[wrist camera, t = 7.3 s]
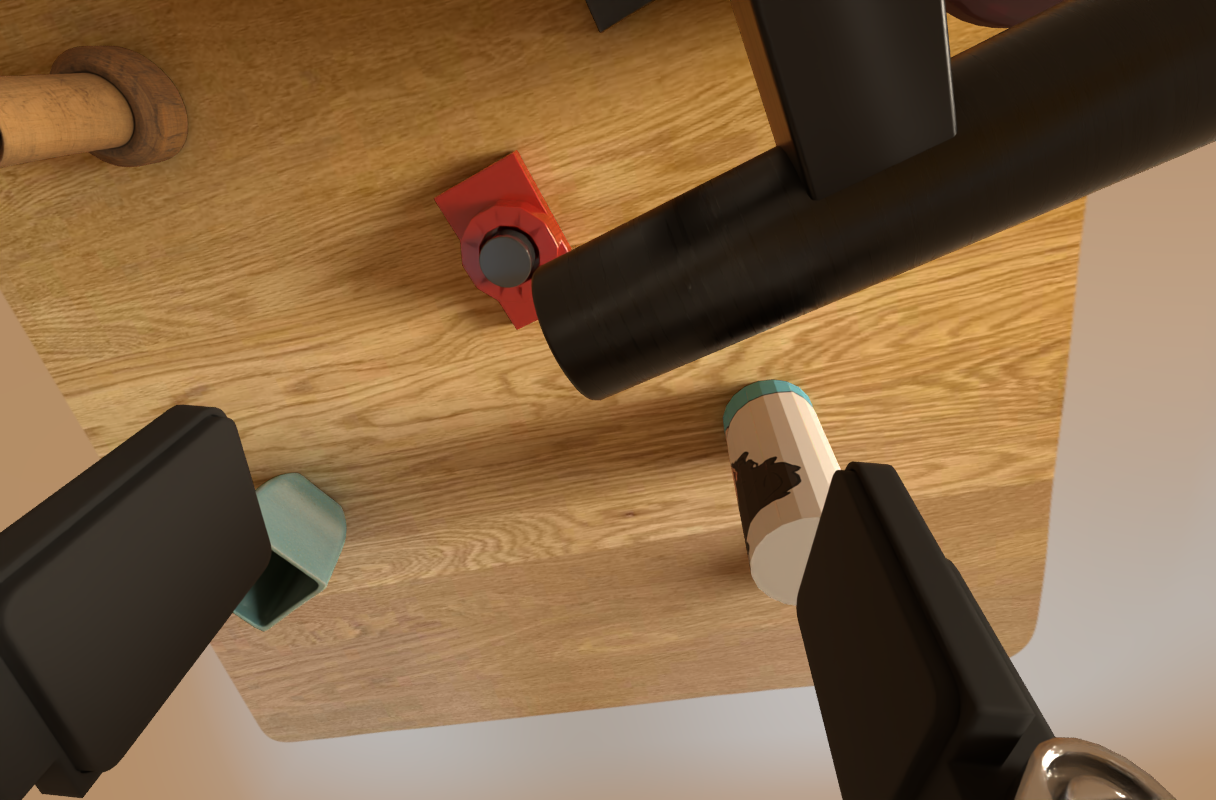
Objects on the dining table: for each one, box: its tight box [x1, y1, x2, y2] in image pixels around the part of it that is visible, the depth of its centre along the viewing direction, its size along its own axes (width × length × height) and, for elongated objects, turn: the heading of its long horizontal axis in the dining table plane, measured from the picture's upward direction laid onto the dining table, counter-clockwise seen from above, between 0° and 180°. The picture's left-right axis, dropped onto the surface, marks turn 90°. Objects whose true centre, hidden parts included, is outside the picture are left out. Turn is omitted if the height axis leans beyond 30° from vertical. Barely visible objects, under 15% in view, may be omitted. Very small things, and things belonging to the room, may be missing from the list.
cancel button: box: [479, 229, 536, 288], centre depth 38 cm, size 3×3×2 cm
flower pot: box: [233, 473, 346, 631], centre depth 50 cm, size 9×9×9 cm
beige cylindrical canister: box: [723, 380, 841, 606], centre depth 40 cm, size 7×7×15 cm
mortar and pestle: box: [0, 46, 188, 168], centre depth 30 cm, size 7×6×18 cm
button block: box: [434, 150, 572, 329], centre depth 39 cm, size 10×6×3 cm, turn 28°
